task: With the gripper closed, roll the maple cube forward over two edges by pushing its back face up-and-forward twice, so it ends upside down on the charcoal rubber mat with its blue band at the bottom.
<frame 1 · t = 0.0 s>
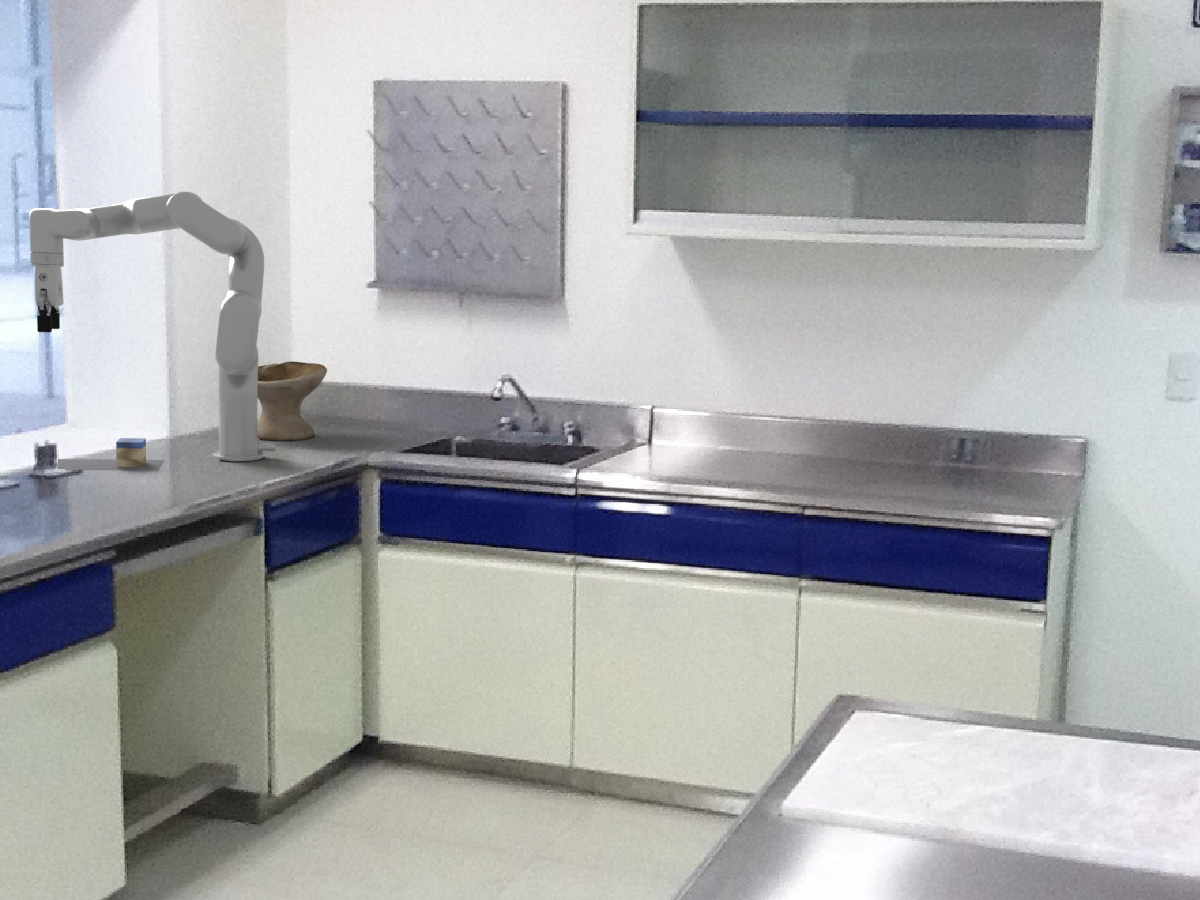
hand: (48, 330, 340), 31 cm above the countertop, fingers open, 9 cm apart
mat: (105, 466, 334), on the countertop
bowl: (280, 436, 390), on the countertop
cube: (131, 464, 335), resting on mat
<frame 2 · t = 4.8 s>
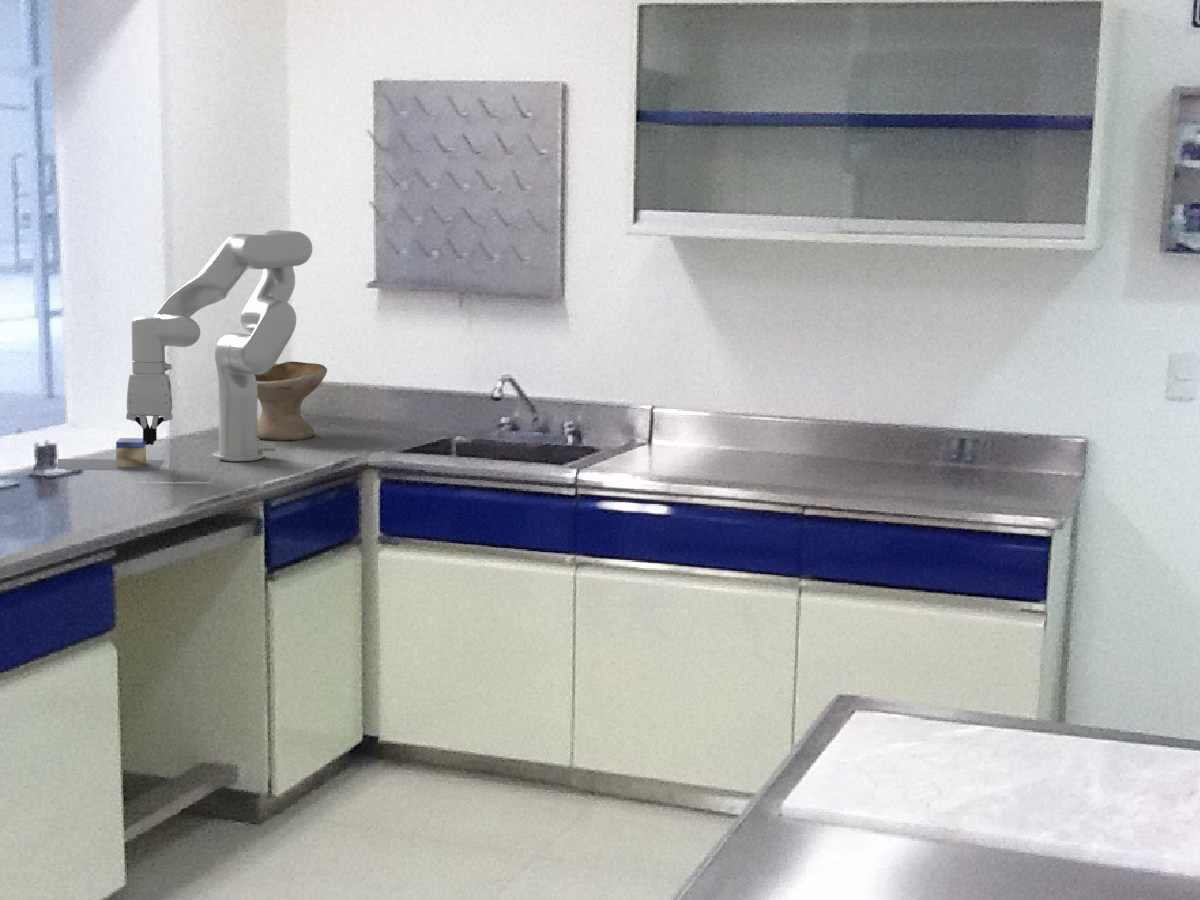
hand: (149, 443, 335), 6 cm above the countertop, fingers closed
cube: (131, 464, 335), point 1 cm above the countertop, touching gripper, mat
everything else where it was.
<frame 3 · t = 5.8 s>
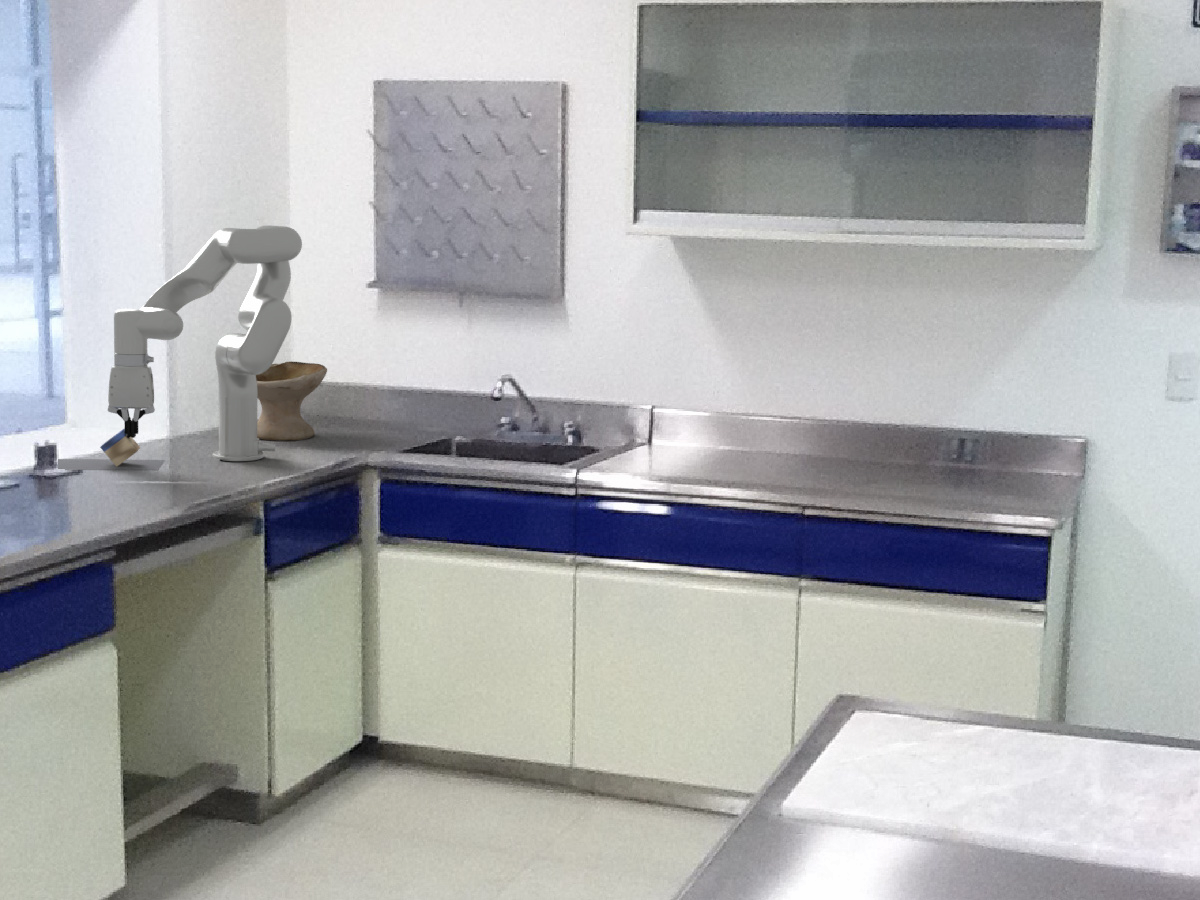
hand: (131, 436, 334), 7 cm above the countertop, fingers closed
cube: (128, 457, 334), point 2 cm above the countertop, tilted 38°, touching gripper, mat
everything else where it was.
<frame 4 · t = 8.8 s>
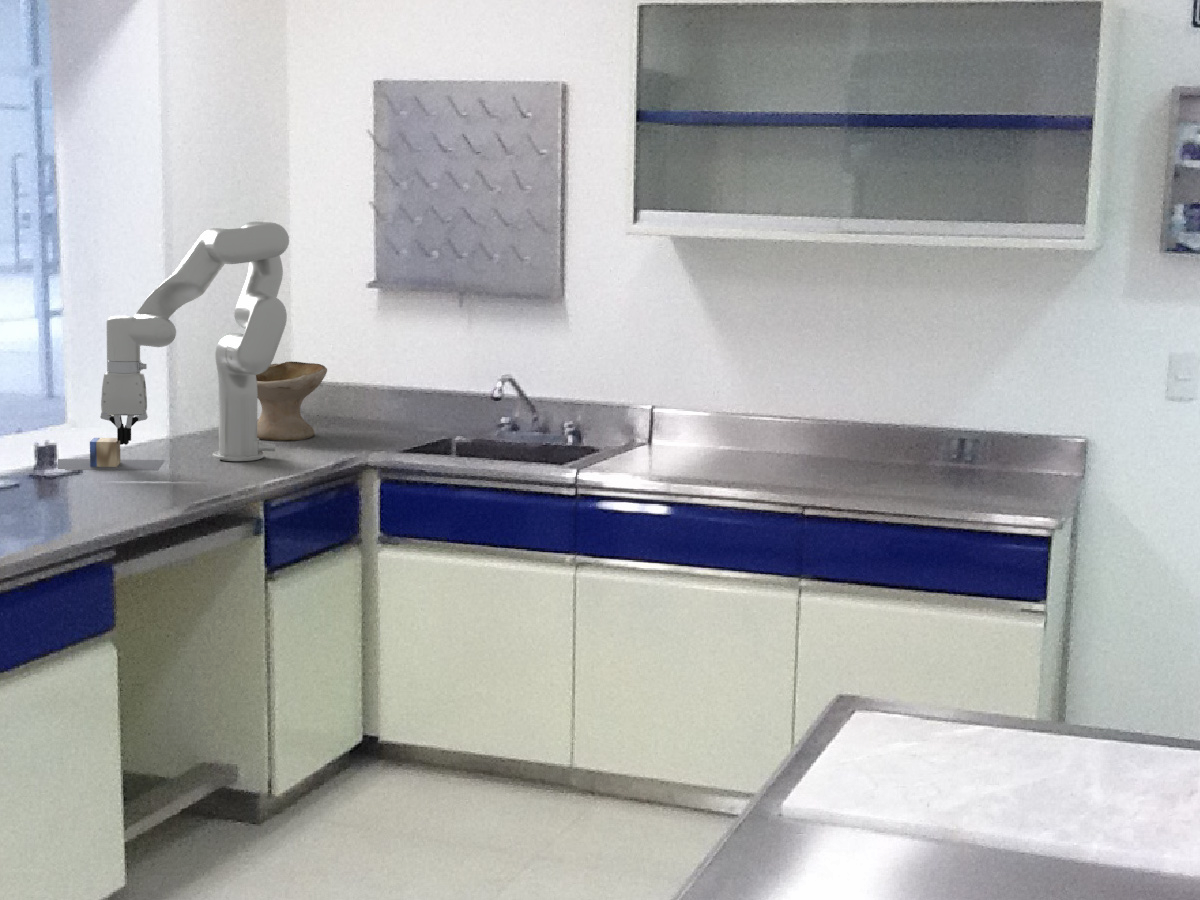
hand: (124, 443, 334), 6 cm above the countertop, fingers closed
cube: (118, 452, 334), point 4 cm above the countertop, tilted 90°, touching gripper, mat
everything else where it was.
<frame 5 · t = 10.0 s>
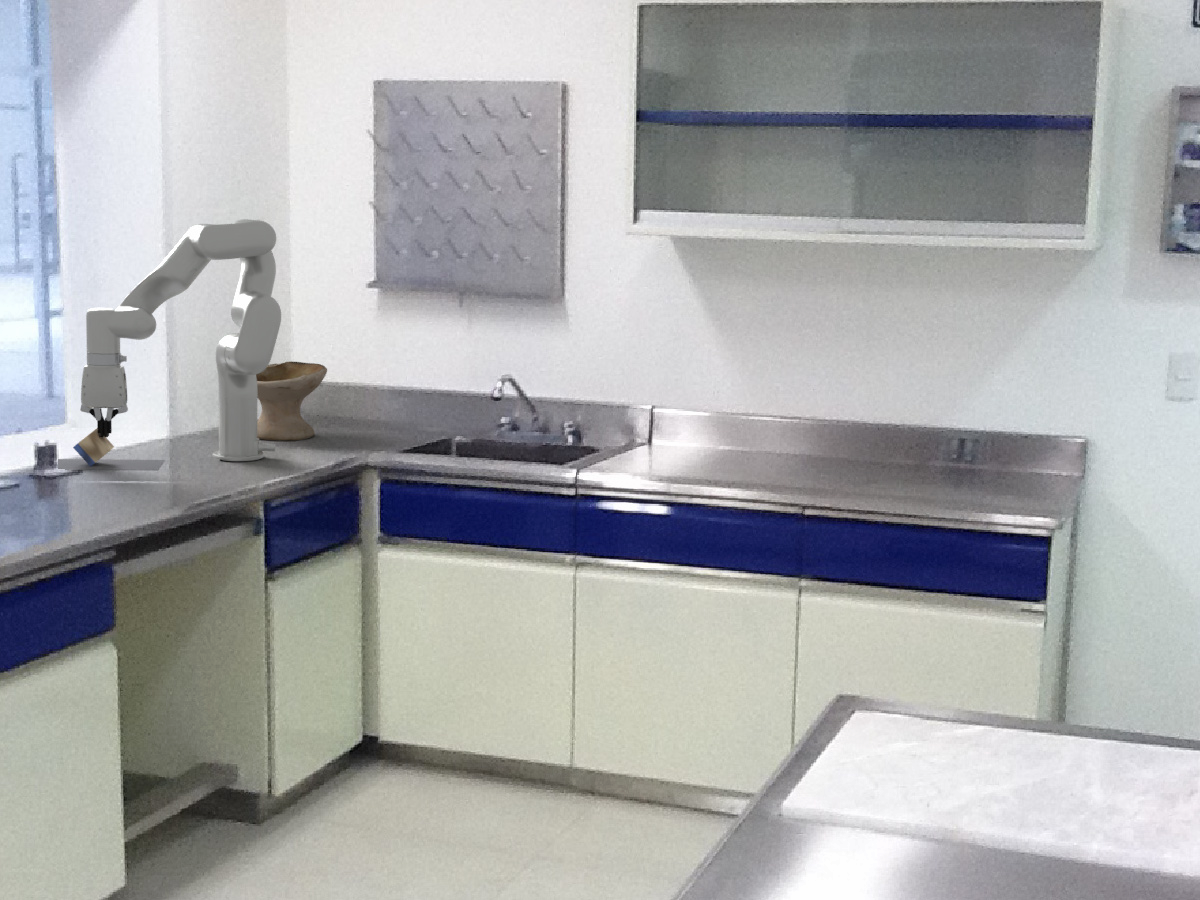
hand: (104, 436, 333), 7 cm above the countertop, fingers closed
cube: (103, 439, 333), point 7 cm above the countertop, tilted 130°, touching mat
everything else where it was.
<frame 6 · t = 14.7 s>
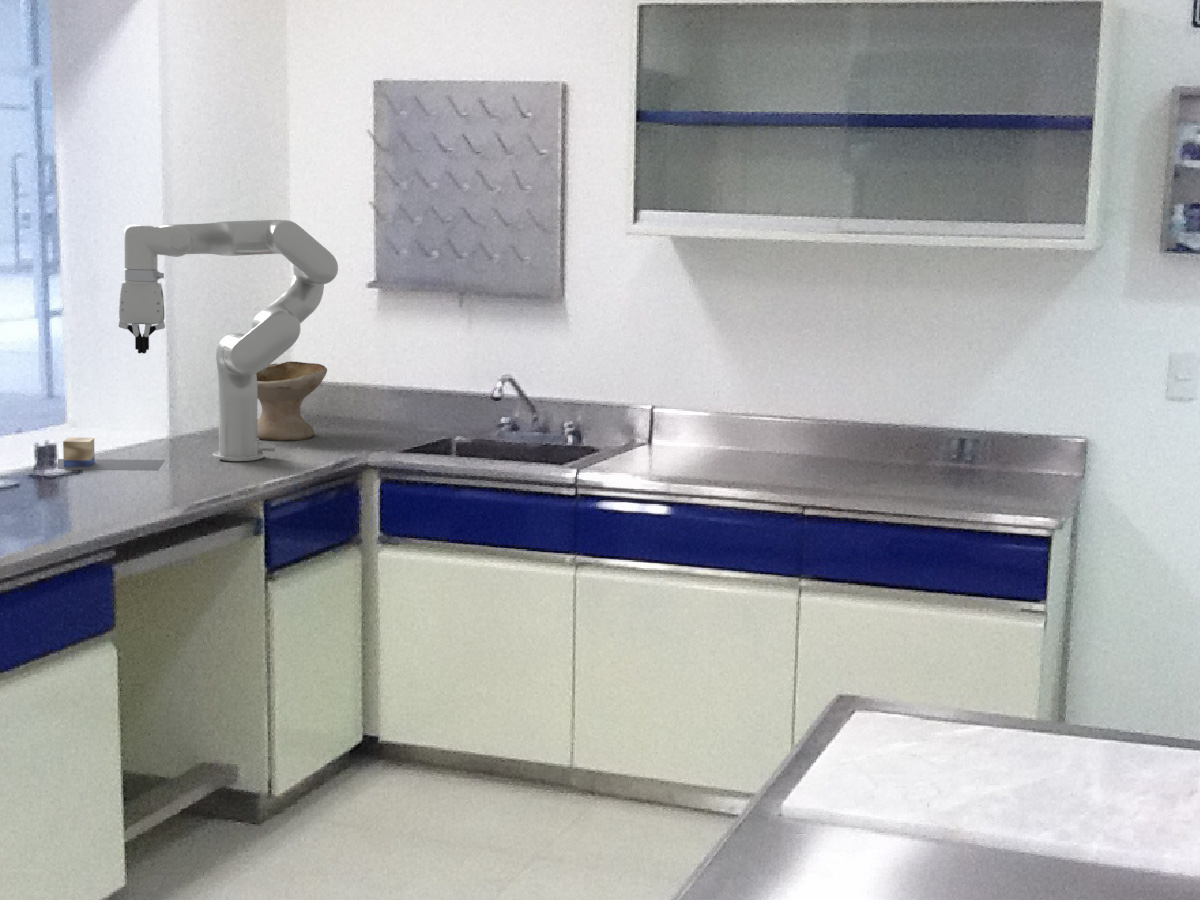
hand: (142, 352, 337), 27 cm above the countertop, fingers closed
cube: (78, 439, 332), point 6 cm above the countertop, tilted 180°, touching mat
everything else where it was.
at the end: cube tilted 180°; cube inside the target area (0.5 cm from its centre), point 6.5 cm above the countertop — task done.
